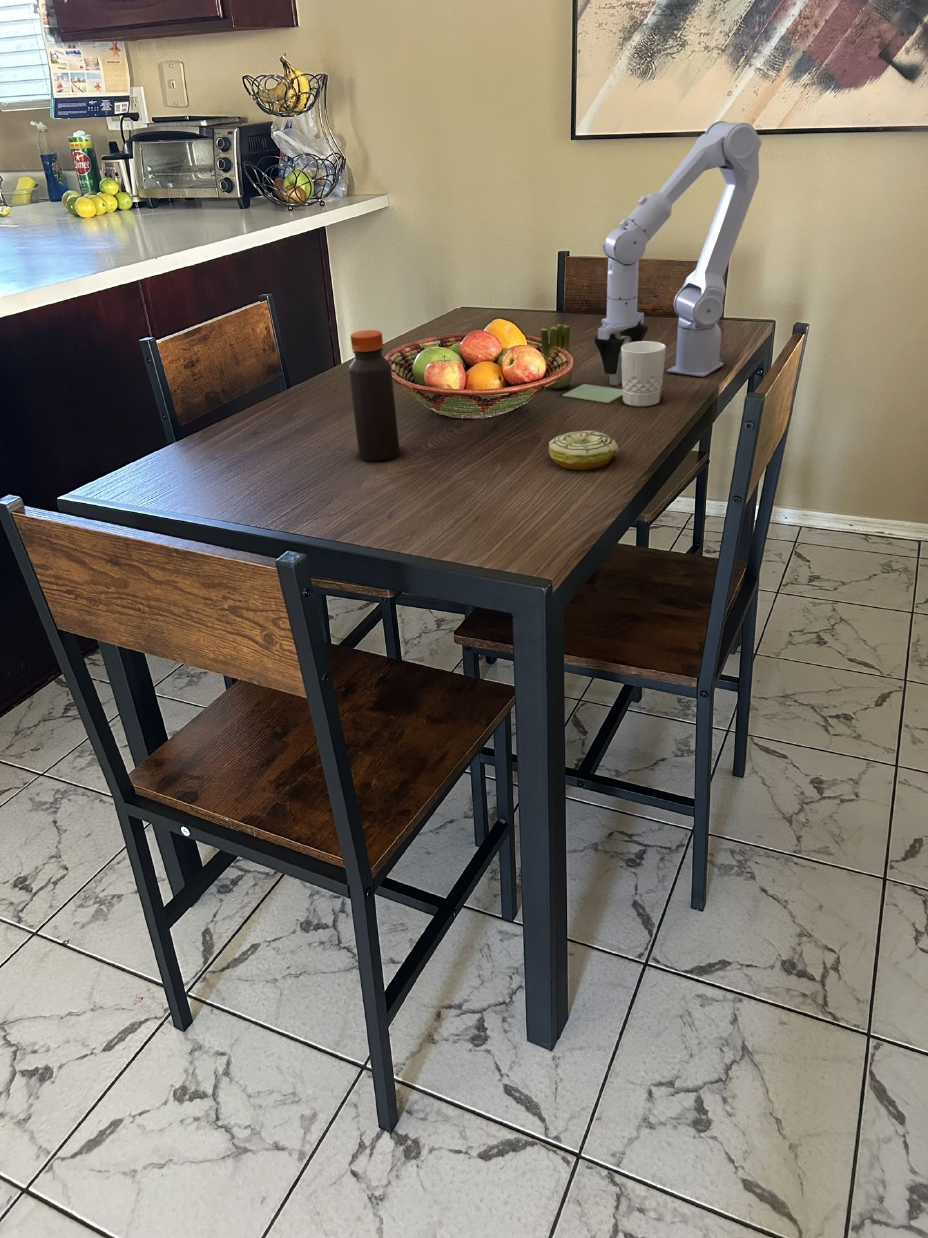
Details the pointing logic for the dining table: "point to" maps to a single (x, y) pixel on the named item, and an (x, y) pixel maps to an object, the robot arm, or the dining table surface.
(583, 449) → the decorated donut
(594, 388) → the sticky note
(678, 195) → the robot arm
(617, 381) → the lighter
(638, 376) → the white cup
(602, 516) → the dining table surface
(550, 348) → the fennel bulb
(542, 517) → the dining table surface
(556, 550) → the dining table surface
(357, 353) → the bottle
